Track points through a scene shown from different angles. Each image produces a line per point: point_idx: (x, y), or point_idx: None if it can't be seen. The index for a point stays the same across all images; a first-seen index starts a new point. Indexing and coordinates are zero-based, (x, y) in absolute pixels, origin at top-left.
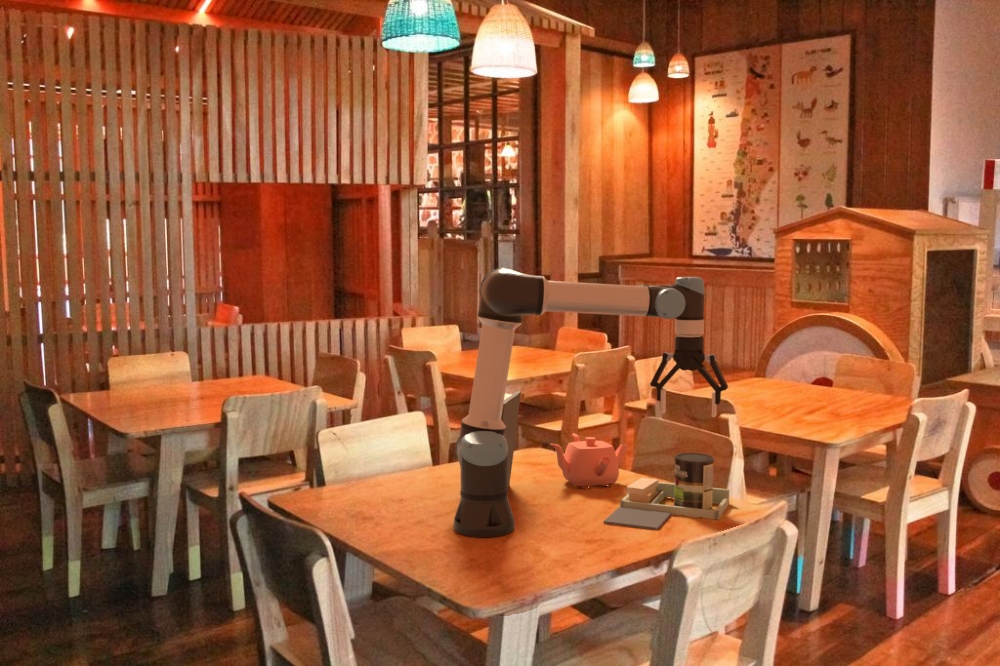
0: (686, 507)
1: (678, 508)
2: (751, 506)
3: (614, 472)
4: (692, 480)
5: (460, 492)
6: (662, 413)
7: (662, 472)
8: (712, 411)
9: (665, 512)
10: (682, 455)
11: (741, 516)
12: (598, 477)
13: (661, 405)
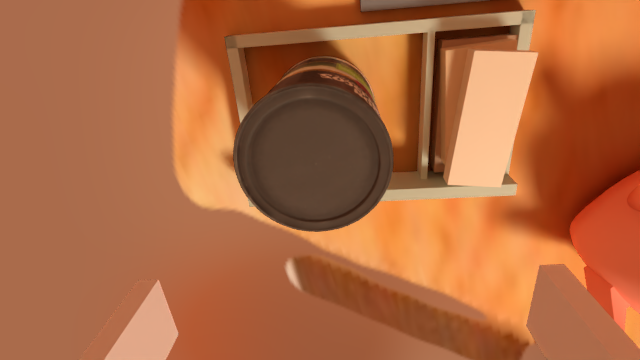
0: (319, 38)
1: (341, 27)
2: (206, 189)
3: (592, 227)
4: (301, 73)
5: None
6: (548, 267)
7: (465, 353)
8: (131, 312)
9: (377, 8)
10: (366, 179)
11: (191, 96)
12: (637, 184)
13: (603, 320)
